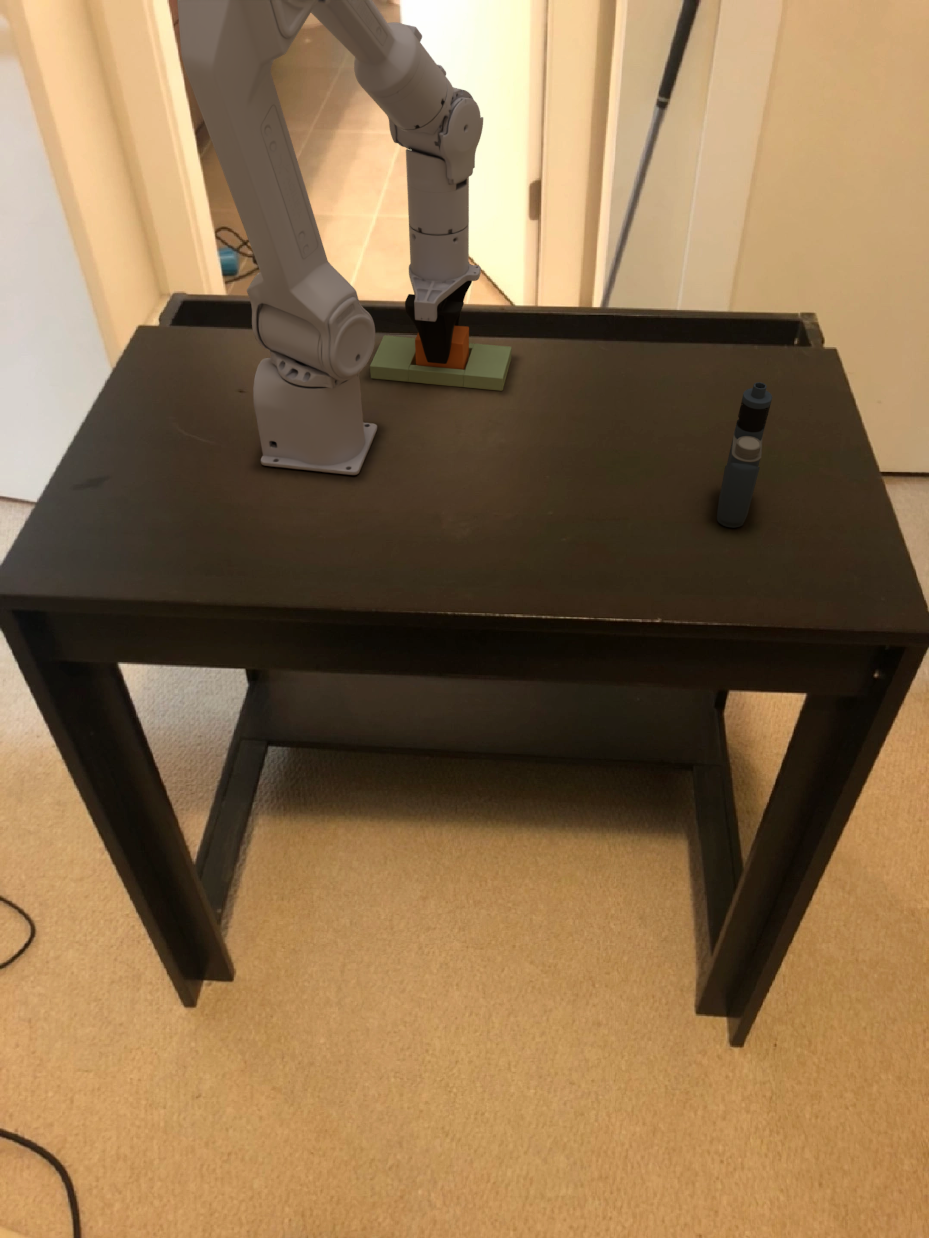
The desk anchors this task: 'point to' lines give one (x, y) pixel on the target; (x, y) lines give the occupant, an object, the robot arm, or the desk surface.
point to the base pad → (480, 372)
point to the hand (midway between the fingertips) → (441, 351)
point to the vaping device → (744, 457)
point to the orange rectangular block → (457, 352)
